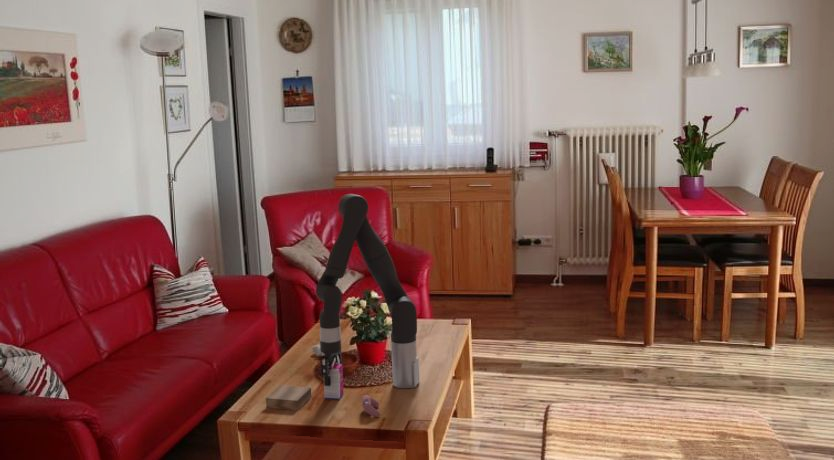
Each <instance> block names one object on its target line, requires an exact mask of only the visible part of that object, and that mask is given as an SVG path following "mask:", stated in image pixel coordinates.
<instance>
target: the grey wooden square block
mask: <svg viewBox="0 0 834 460" xmlns="http://www.w3.org/2000/svg"><path fill="white" fill-rule="evenodd" d="M312 396H313V395H312V387H307V386H297V385H296V386H294V385H285V384H282V385H279V386H278V387H276V388H275V389H274V390H273V391H272V392H270V394H269V395H267V396H266V398H265V404H266V406H265V407H266V408H267V409H276V408H278V409H280V410H289V411H299V410H300V409H301V408H302V407H303V406H304V405H305V404H306V403H307V402H308V401H310V399H311V398H312Z"/></svg>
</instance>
